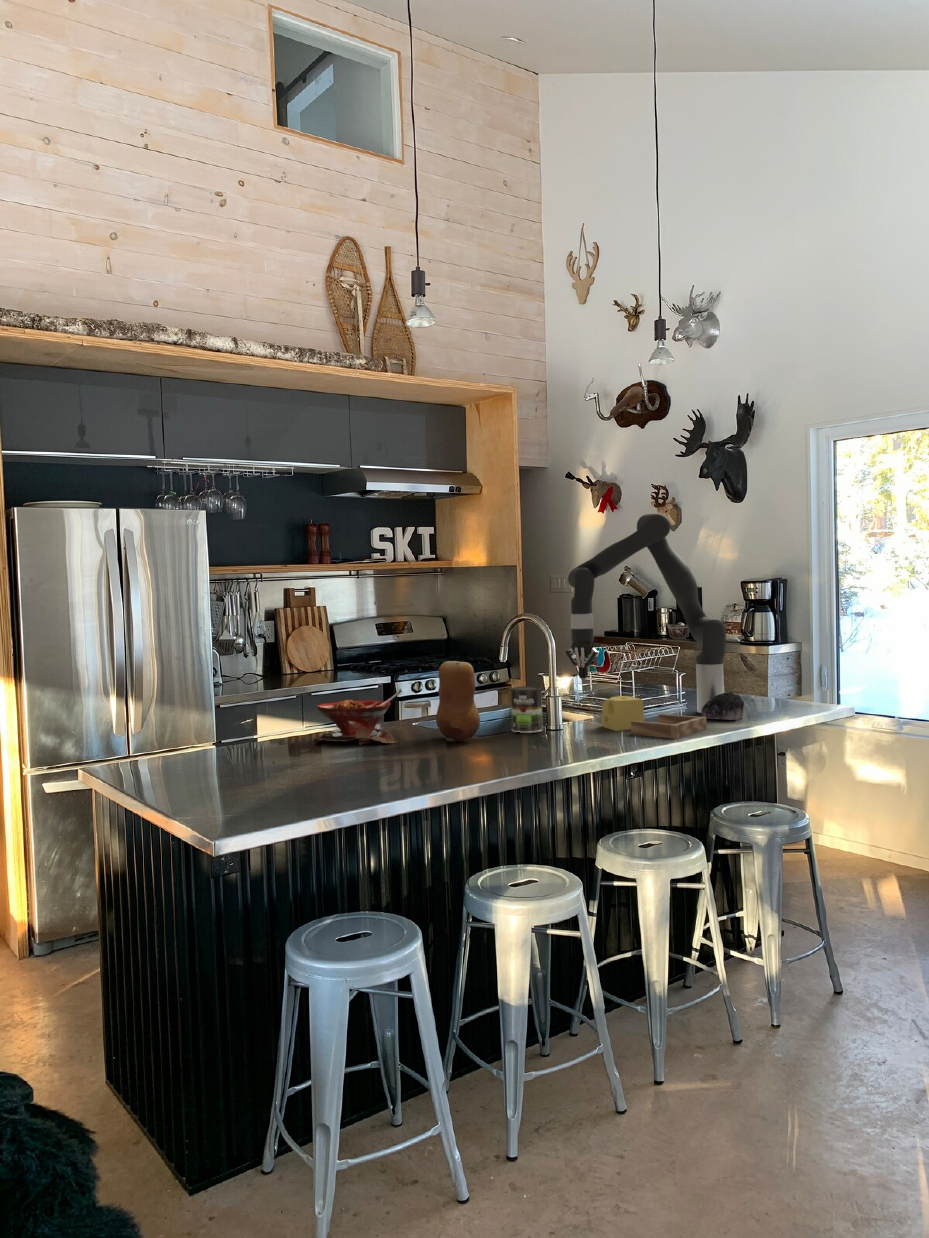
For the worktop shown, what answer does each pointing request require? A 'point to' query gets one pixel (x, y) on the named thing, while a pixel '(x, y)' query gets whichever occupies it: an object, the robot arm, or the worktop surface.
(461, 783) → the worktop surface
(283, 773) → the worktop surface
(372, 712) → the stew
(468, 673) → the butternut squash
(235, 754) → the worktop surface
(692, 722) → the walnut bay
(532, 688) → the coffee can
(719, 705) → the dark brown rock
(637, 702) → the cheese
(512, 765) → the worktop surface
